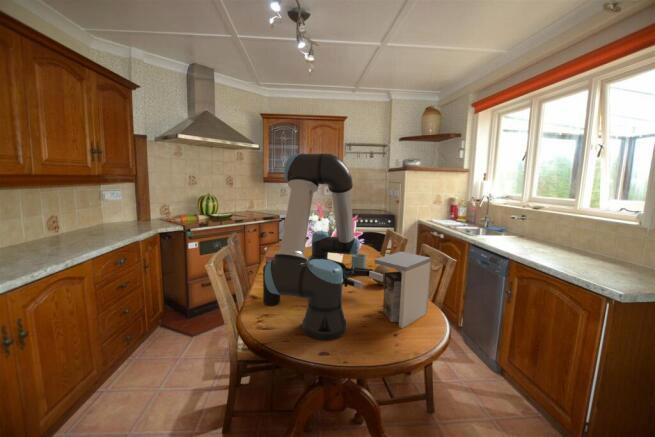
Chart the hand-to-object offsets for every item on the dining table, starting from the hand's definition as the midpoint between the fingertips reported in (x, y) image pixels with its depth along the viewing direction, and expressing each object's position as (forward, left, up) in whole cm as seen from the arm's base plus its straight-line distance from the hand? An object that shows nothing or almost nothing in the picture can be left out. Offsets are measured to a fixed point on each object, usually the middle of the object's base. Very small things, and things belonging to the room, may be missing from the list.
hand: (372, 281), depth 121 cm
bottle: (-27, +30, -11) cm, 42 cm away
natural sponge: (+24, +11, -11) cm, 29 cm away
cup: (+29, +31, -11) cm, 44 cm away
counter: (+3, -11, -11) cm, 16 cm away
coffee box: (0, -11, -11) cm, 15 cm away
